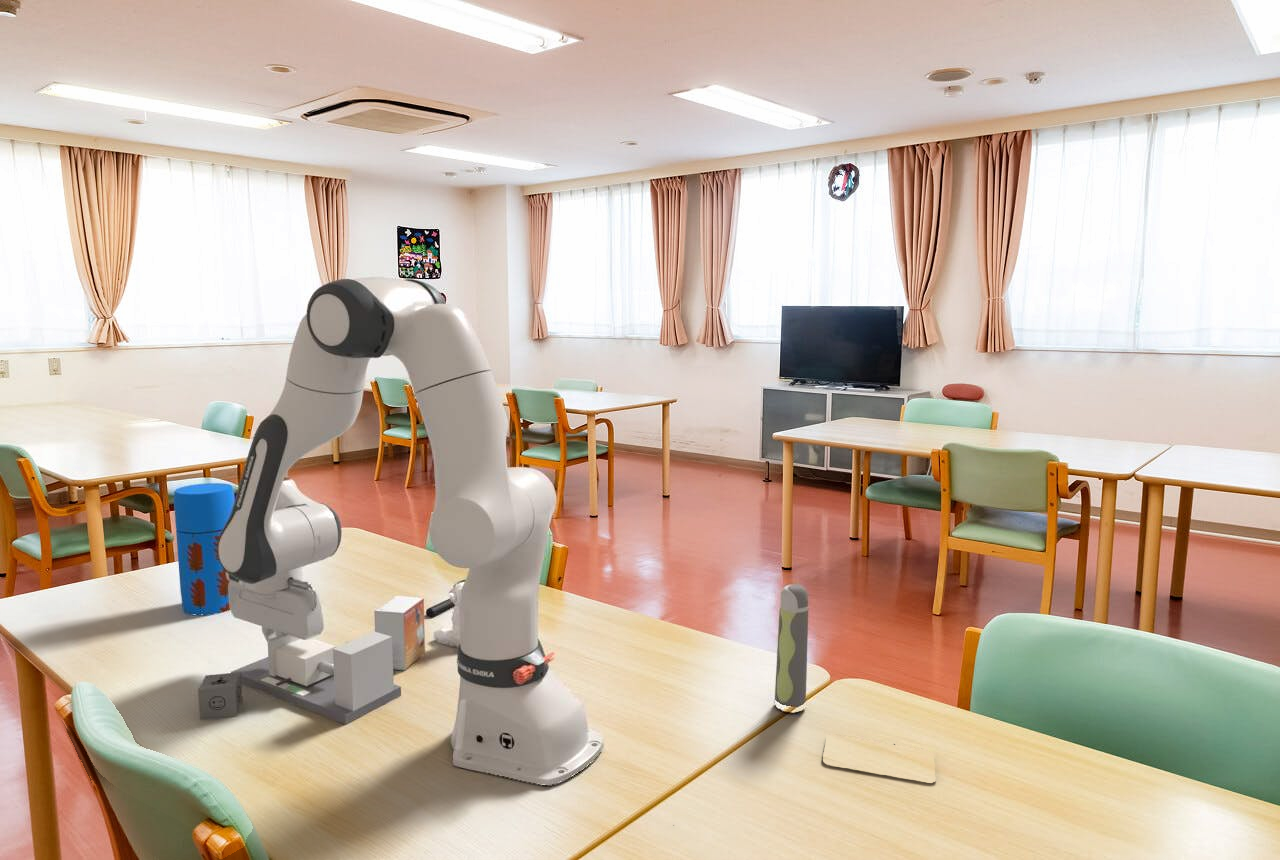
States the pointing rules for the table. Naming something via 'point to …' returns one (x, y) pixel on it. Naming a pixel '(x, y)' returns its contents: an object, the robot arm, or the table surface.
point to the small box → (403, 628)
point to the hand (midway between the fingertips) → (278, 651)
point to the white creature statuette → (446, 634)
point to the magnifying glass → (441, 606)
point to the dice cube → (220, 696)
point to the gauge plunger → (300, 659)
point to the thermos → (202, 545)
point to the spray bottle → (792, 647)
